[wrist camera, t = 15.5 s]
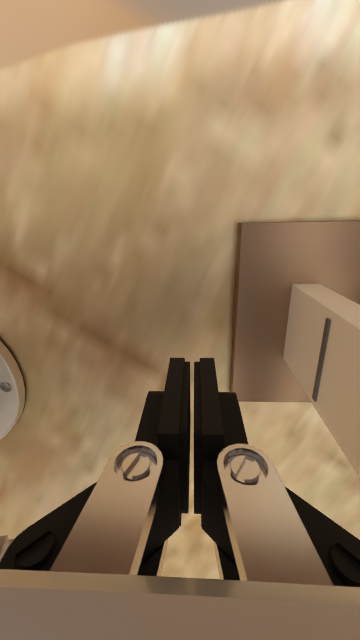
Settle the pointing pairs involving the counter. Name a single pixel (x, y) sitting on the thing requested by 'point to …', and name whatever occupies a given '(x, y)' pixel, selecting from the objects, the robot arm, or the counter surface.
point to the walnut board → (283, 296)
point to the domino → (327, 360)
